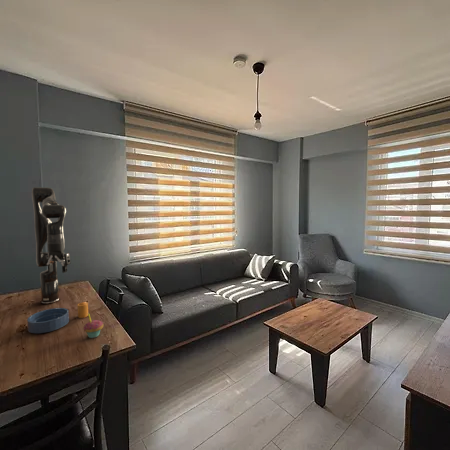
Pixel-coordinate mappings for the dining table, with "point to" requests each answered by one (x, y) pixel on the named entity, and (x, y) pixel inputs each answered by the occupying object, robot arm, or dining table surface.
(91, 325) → the cupcake
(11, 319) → the dining table surface
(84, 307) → the orange cylinder
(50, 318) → the bowl
